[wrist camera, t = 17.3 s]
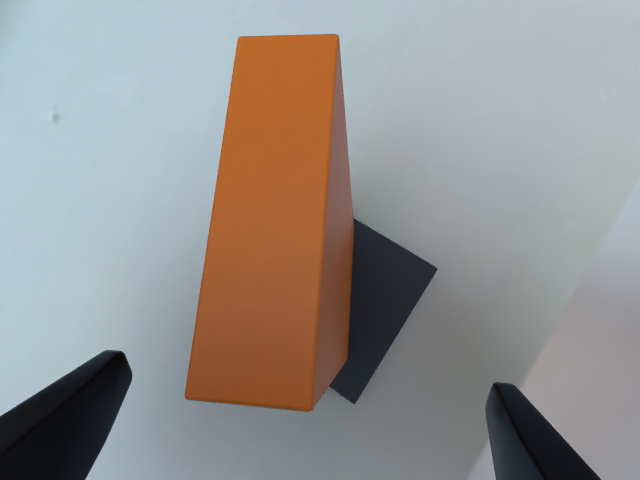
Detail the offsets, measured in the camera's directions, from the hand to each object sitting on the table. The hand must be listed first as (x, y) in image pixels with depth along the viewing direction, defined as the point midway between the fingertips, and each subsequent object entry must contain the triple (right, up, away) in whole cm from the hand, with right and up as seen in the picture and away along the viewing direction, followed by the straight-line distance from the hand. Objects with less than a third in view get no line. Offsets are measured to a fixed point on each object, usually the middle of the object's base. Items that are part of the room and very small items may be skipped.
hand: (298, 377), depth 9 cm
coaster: (+1, +1, +9) cm, 9 cm away
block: (+1, +1, +8) cm, 8 cm away
